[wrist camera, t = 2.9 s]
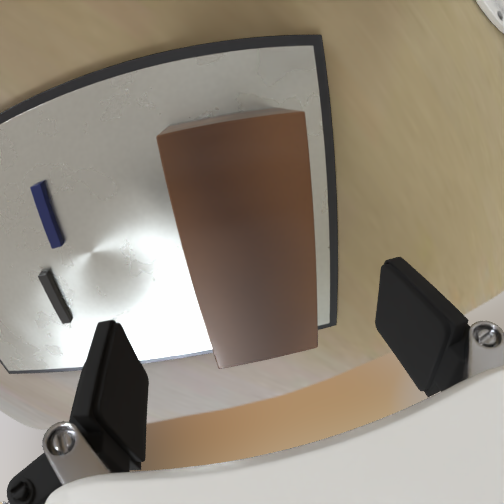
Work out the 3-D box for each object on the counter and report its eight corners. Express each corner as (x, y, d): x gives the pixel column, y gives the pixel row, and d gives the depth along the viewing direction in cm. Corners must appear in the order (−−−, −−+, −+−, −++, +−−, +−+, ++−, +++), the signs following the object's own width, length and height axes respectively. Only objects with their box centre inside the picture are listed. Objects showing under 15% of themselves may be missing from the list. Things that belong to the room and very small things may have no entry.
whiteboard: (318, 35, 14) (323, 33, 13) (334, 321, 24) (338, 327, 23) (-85, 172, 12) (-91, 175, 11) (10, 370, 21) (8, 376, 21)
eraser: (274, 106, 15) (305, 111, 11) (294, 295, 21) (318, 347, 16) (168, 125, 15) (155, 135, 10) (212, 313, 20) (218, 369, 16)
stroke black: (49, 270, 17) (46, 274, 17) (73, 318, 19) (71, 323, 19) (40, 272, 17) (37, 276, 17) (64, 319, 19) (62, 324, 18)
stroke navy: (43, 181, 15) (39, 183, 14) (64, 242, 16) (61, 246, 16) (33, 184, 14) (29, 187, 14) (54, 245, 16) (51, 249, 16)
